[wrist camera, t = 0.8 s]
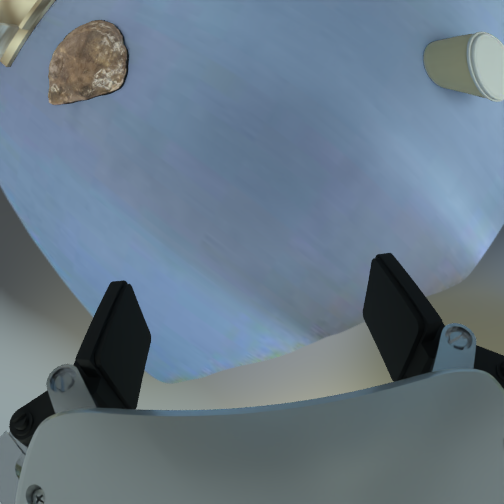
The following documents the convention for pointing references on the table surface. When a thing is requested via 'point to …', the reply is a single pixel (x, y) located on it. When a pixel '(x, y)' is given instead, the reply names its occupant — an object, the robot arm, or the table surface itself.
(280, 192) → the table surface
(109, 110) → the table surface
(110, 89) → the shell
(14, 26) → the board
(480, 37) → the coffee cup
